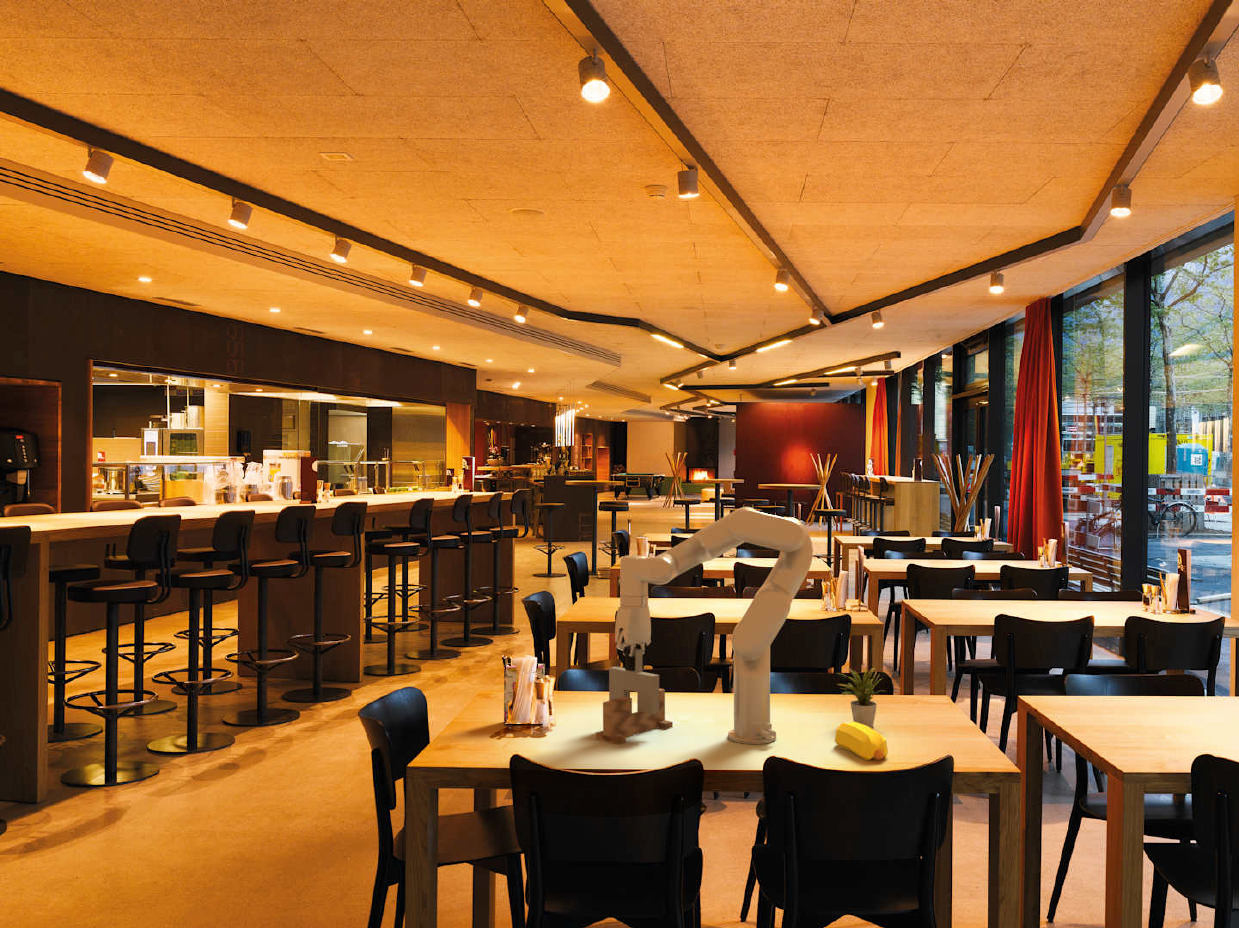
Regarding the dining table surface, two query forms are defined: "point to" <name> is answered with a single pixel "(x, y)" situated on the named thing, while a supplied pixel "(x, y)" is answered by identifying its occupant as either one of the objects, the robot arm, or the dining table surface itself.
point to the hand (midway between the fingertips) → (633, 668)
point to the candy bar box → (511, 683)
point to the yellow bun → (861, 740)
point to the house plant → (863, 697)
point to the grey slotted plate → (635, 685)
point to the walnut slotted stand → (629, 719)
